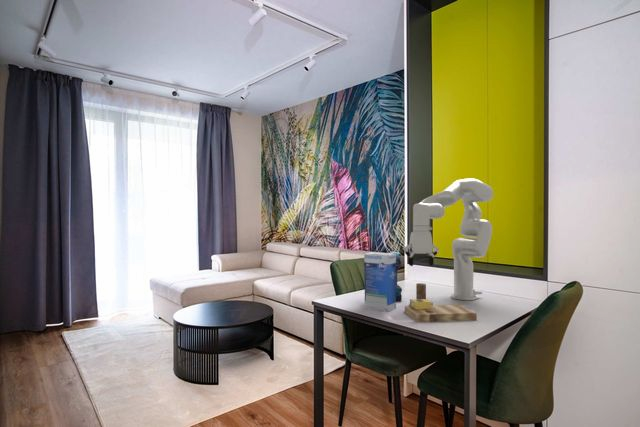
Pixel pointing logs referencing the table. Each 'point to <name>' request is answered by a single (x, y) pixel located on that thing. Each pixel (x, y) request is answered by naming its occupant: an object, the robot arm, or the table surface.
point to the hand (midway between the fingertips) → (420, 265)
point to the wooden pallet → (441, 313)
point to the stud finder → (421, 304)
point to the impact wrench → (398, 264)
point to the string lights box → (380, 281)
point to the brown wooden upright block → (420, 291)
